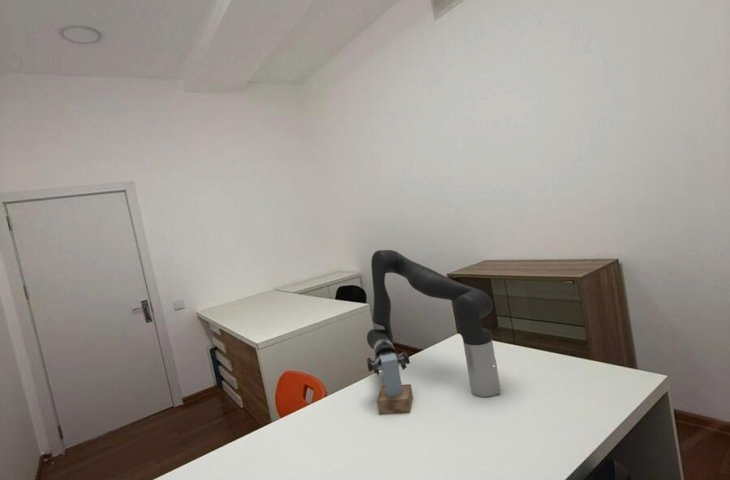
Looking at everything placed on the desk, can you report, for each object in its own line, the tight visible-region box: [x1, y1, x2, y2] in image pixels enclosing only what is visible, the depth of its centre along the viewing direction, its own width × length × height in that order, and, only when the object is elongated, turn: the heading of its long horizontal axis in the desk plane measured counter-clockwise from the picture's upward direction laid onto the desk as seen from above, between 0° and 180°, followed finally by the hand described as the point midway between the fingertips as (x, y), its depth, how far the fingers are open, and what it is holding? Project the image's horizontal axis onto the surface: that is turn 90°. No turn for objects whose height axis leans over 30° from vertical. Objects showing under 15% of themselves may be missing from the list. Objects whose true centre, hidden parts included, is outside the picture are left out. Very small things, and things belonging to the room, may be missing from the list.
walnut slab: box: [376, 383, 414, 416], centre depth 129 cm, size 10×10×5 cm
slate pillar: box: [380, 353, 403, 397], centre depth 128 cm, size 5×5×12 cm
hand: (390, 369), depth 127 cm, fingers open, 8 cm apart
